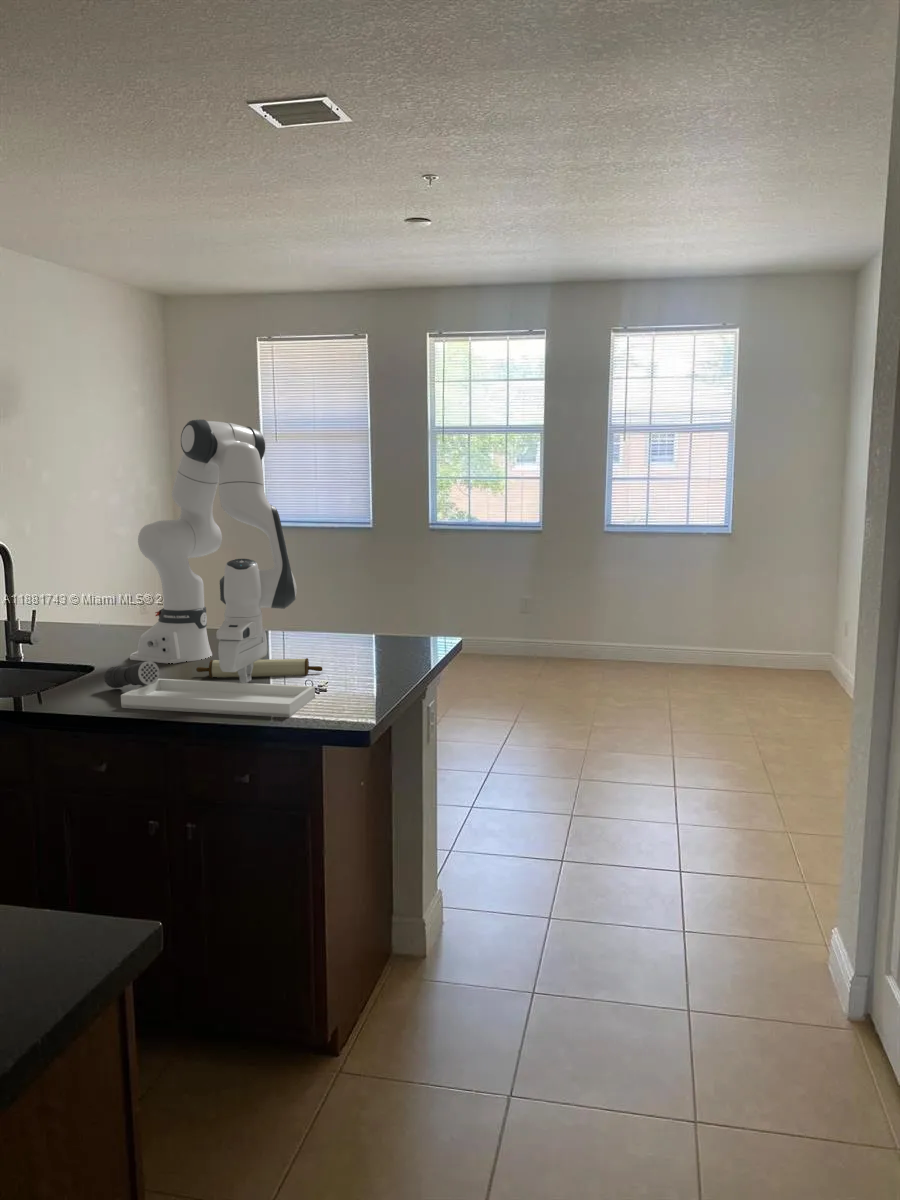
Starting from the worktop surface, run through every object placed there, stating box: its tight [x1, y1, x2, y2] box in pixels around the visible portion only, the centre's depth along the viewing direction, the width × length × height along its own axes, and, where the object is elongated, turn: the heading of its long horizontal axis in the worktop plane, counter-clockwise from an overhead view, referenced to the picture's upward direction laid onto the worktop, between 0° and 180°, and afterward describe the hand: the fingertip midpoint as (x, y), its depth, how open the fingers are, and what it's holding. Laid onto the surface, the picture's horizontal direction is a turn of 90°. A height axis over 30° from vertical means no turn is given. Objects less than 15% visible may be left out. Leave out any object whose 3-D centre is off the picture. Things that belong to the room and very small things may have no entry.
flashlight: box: [104, 661, 160, 689], centre depth 208 cm, size 15×5×5 cm
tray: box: [120, 678, 316, 718], centre depth 200 cm, size 40×16×3 cm, turn 79°
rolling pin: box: [195, 658, 323, 679], centre depth 225 cm, size 32×6×5 cm, turn 94°
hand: (245, 682), depth 213 cm, fingers closed
